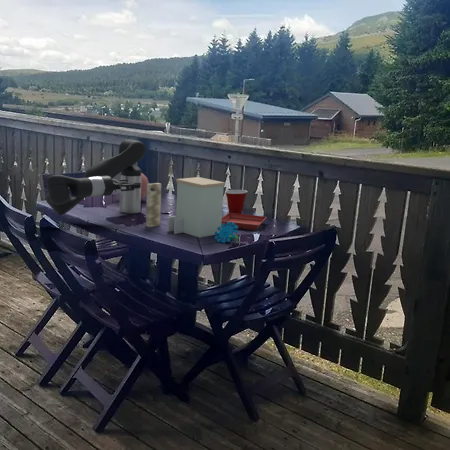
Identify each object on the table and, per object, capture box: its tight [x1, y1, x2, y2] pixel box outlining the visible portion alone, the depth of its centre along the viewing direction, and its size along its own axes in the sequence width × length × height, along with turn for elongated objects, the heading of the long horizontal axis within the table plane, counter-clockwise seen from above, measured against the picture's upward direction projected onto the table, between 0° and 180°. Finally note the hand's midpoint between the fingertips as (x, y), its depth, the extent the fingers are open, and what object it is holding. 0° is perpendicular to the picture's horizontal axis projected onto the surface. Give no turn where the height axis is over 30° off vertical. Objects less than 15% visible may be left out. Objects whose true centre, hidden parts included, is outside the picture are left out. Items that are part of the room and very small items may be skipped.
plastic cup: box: [224, 189, 248, 214], centre depth 254 cm, size 11×11×12 cm
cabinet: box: [167, 176, 226, 238], centre depth 216 cm, size 17×15×21 cm
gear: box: [214, 222, 240, 244], centre depth 207 cm, size 11×6×10 cm
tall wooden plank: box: [145, 182, 162, 228], centre depth 223 cm, size 6×3×18 cm, turn 136°
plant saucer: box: [221, 212, 267, 231], centre depth 237 cm, size 18×18×3 cm
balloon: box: [119, 172, 150, 200], centre depth 272 cm, size 15×20×15 cm
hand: (133, 183), depth 212 cm, fingers open, 8 cm apart
